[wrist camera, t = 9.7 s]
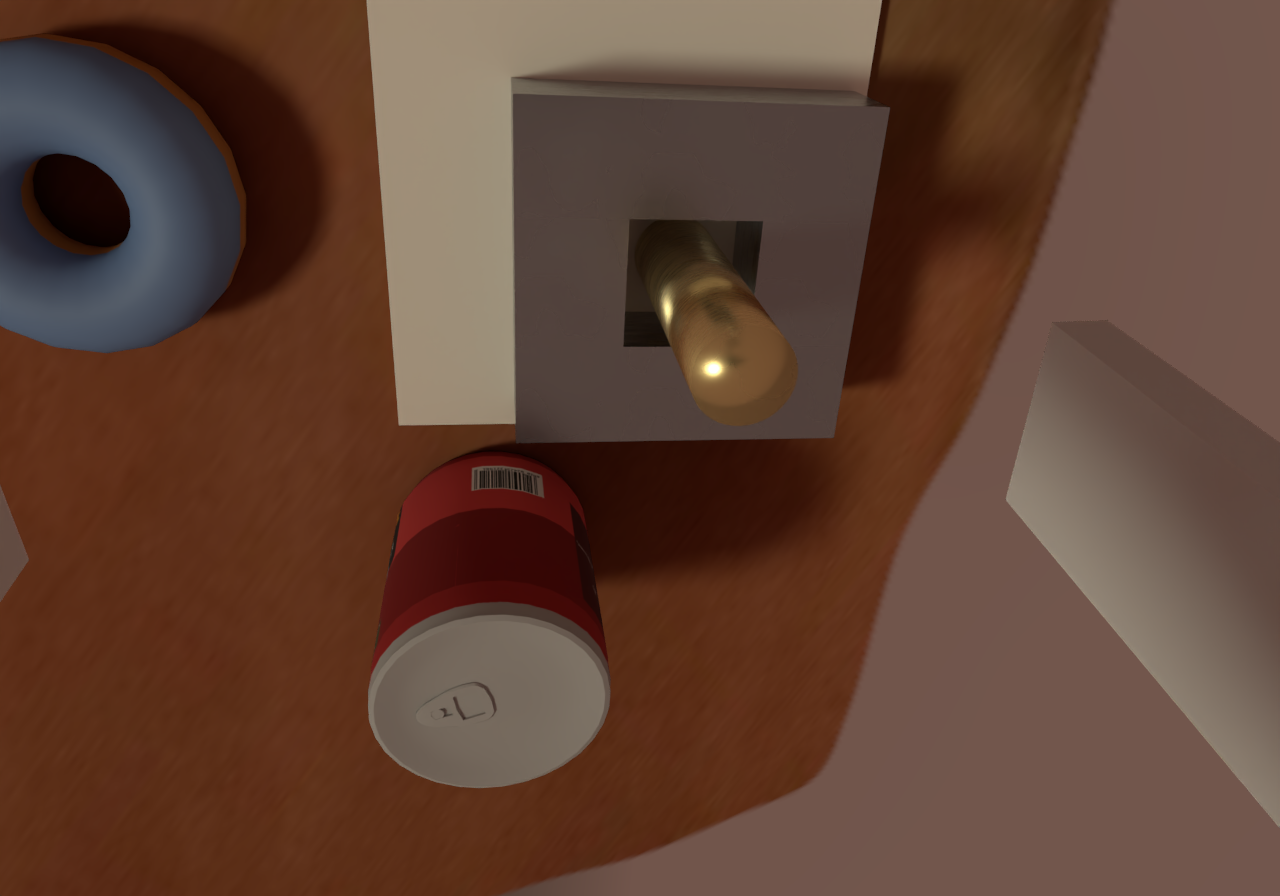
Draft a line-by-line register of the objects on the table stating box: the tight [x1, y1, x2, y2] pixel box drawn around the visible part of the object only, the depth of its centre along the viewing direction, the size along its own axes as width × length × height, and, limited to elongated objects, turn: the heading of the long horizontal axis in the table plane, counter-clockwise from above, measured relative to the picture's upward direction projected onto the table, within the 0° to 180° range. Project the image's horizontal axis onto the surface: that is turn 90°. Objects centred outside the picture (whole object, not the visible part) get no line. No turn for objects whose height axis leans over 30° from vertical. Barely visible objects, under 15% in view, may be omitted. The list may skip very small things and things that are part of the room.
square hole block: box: [511, 78, 890, 443], centre depth 34 cm, size 12×12×4 cm
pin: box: [635, 220, 798, 426], centre depth 31 cm, size 3×3×11 cm
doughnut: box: [0, 33, 246, 353], centre depth 30 cm, size 10×10×5 cm
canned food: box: [368, 452, 611, 788], centre depth 36 cm, size 8×8×11 cm
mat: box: [367, 0, 882, 425], centre depth 32 cm, size 26×17×1 cm, turn 177°
